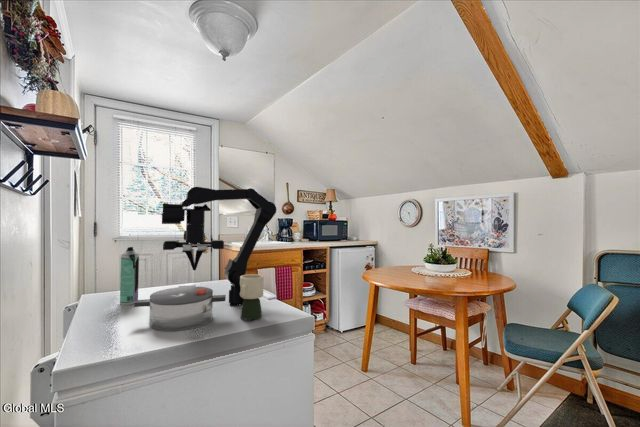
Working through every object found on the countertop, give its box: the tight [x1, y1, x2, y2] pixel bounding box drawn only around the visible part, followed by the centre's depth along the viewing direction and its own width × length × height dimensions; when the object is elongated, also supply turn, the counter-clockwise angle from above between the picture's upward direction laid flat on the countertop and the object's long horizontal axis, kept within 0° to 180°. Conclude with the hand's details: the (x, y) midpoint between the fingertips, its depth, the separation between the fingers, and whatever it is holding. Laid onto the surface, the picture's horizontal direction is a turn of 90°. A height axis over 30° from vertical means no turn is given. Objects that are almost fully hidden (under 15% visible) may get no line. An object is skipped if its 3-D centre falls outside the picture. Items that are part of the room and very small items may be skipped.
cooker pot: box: [133, 294, 227, 332], centre depth 90 cm, size 25×17×7 cm
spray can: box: [119, 246, 140, 306], centre depth 108 cm, size 6×6×20 cm
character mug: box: [240, 273, 265, 321], centre depth 93 cm, size 11×7×13 cm, turn 163°
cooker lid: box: [149, 284, 214, 305], centre depth 91 cm, size 17×19×3 cm
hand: (194, 270), depth 102 cm, fingers closed
